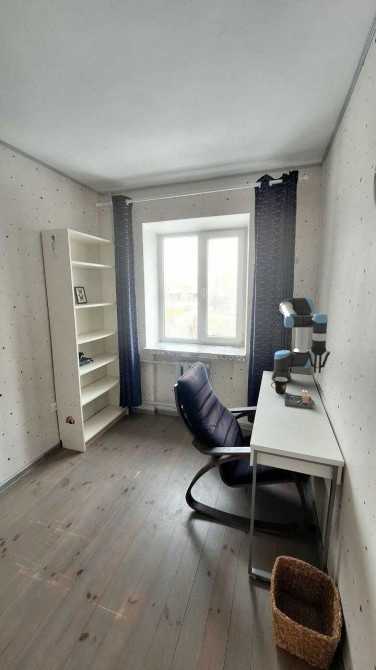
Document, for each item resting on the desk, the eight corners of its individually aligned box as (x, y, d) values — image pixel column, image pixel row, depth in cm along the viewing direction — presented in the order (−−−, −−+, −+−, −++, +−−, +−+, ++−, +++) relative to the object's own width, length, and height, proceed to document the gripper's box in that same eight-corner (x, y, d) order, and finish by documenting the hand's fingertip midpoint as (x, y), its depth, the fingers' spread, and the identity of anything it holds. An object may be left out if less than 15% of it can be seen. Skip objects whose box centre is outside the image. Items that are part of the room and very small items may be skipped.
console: (285, 396, 185) (285, 392, 184) (311, 399, 179) (311, 395, 179) (284, 405, 172) (284, 401, 172) (312, 409, 167) (312, 404, 166)
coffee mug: (285, 390, 196) (285, 377, 194) (288, 395, 188) (288, 381, 186) (268, 390, 197) (269, 377, 195) (271, 394, 189) (271, 381, 187)
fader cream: (301, 396, 179) (302, 389, 178) (306, 396, 178) (307, 389, 177) (301, 398, 176) (302, 391, 175) (306, 398, 175) (307, 391, 174)
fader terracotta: (302, 400, 173) (303, 393, 172) (307, 401, 172) (308, 394, 171) (302, 402, 170) (303, 395, 169) (307, 403, 169) (308, 396, 168)
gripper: (307, 340, 160) (305, 378, 165) (332, 341, 155) (329, 380, 160) (307, 338, 167) (305, 374, 171) (330, 339, 162) (328, 376, 166)
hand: (316, 377), depth 165 cm, fingers closed
